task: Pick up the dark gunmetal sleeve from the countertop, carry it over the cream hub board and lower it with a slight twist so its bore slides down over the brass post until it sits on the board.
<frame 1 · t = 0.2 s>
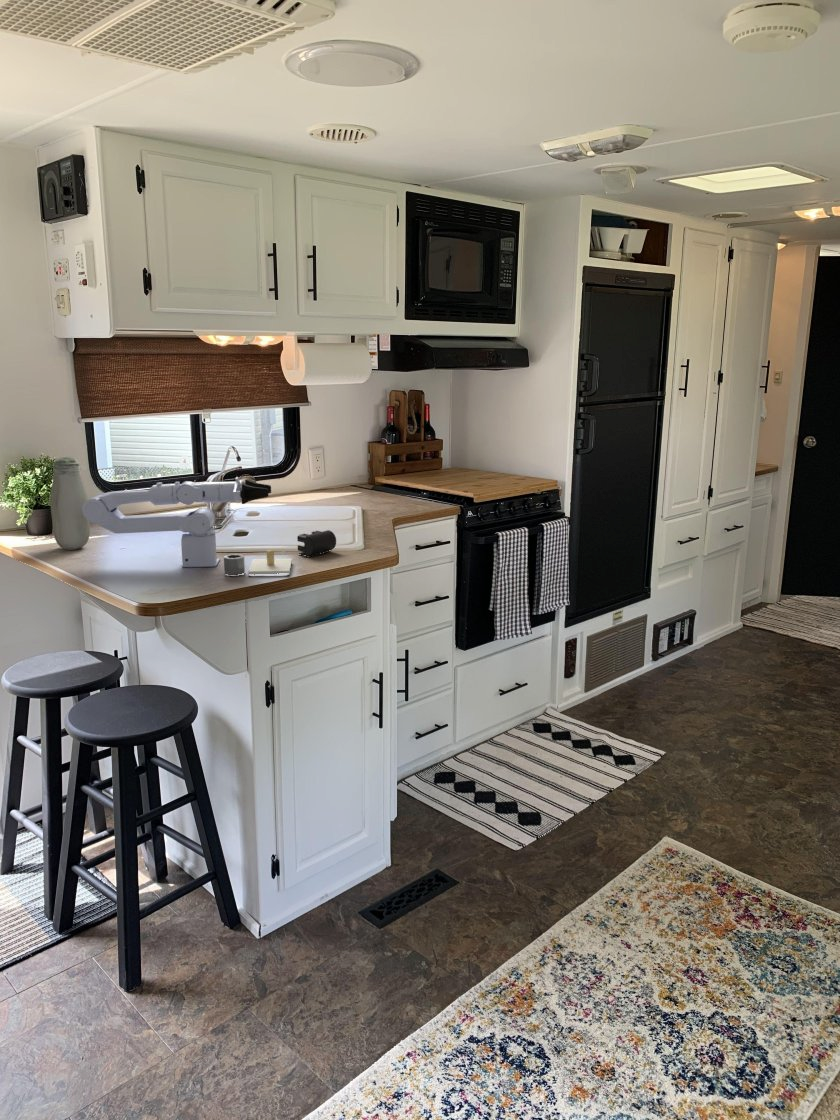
hand: (269, 490, 239), 21 cm above the worktop, tool horizontal, fingers open, 7 cm apart
sleeve: (234, 574, 233), on the worktop
black cylinder: (316, 555, 256), on the worktop
hub board: (270, 569, 237), on the worktop
grey bottle: (73, 549, 259), on the worktop
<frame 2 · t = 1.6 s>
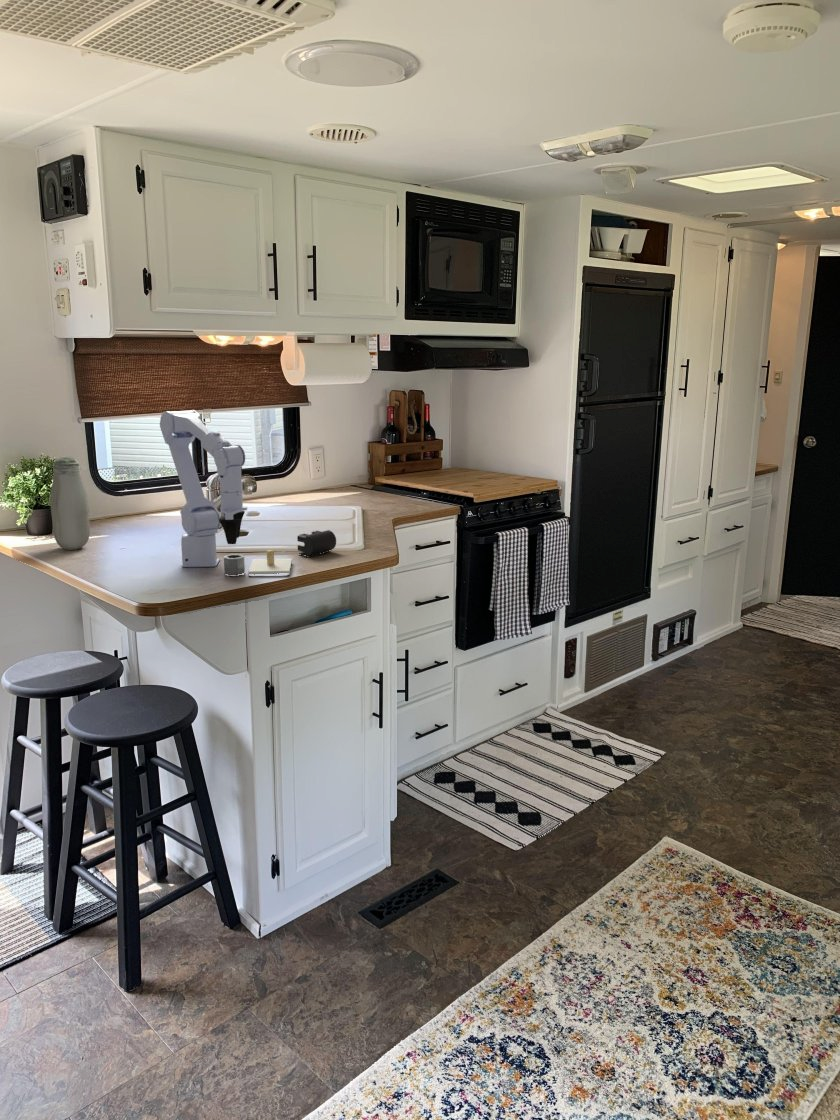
hand: (233, 540, 230), 9 cm above the worktop, tool pointing down, fingers open, 7 cm apart
nothing on the worktop moved.
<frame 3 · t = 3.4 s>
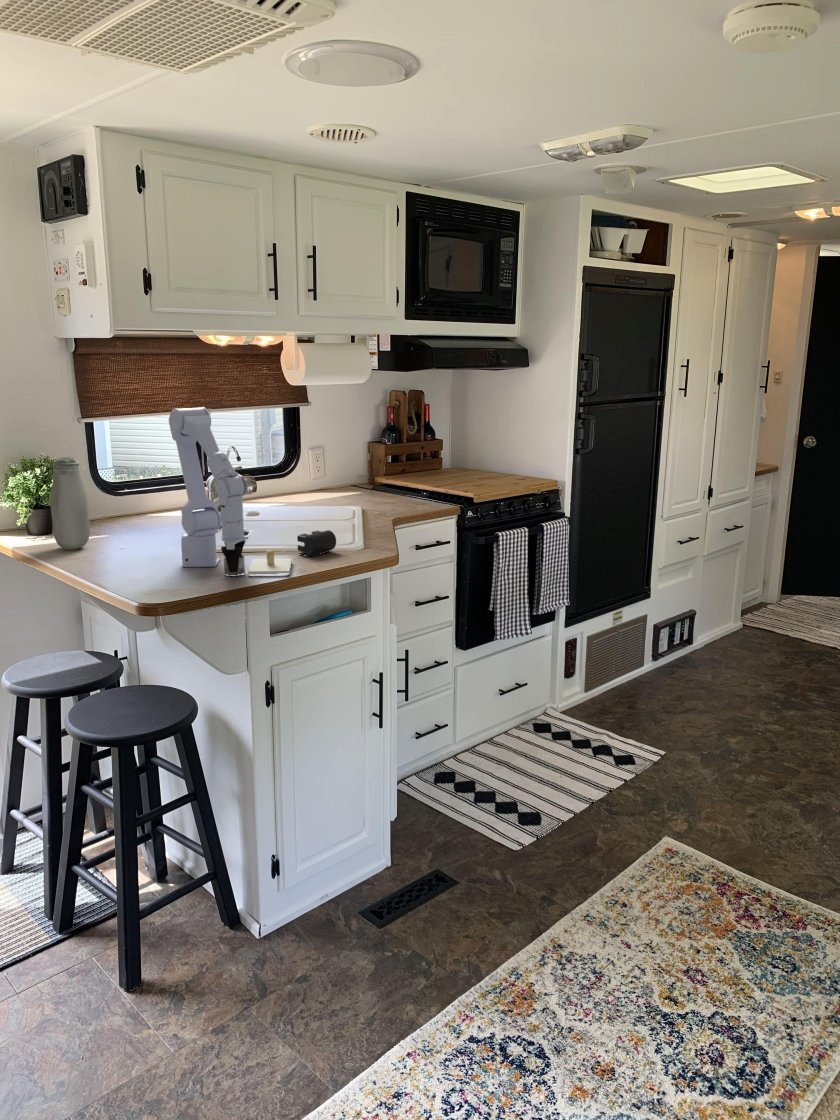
hand: (234, 569, 232), 1 cm above the worktop, tool pointing down, fingers closed on sleeve, 5 cm apart
sleeve: (234, 574, 233), on the worktop, touching gripper
everything else where it was.
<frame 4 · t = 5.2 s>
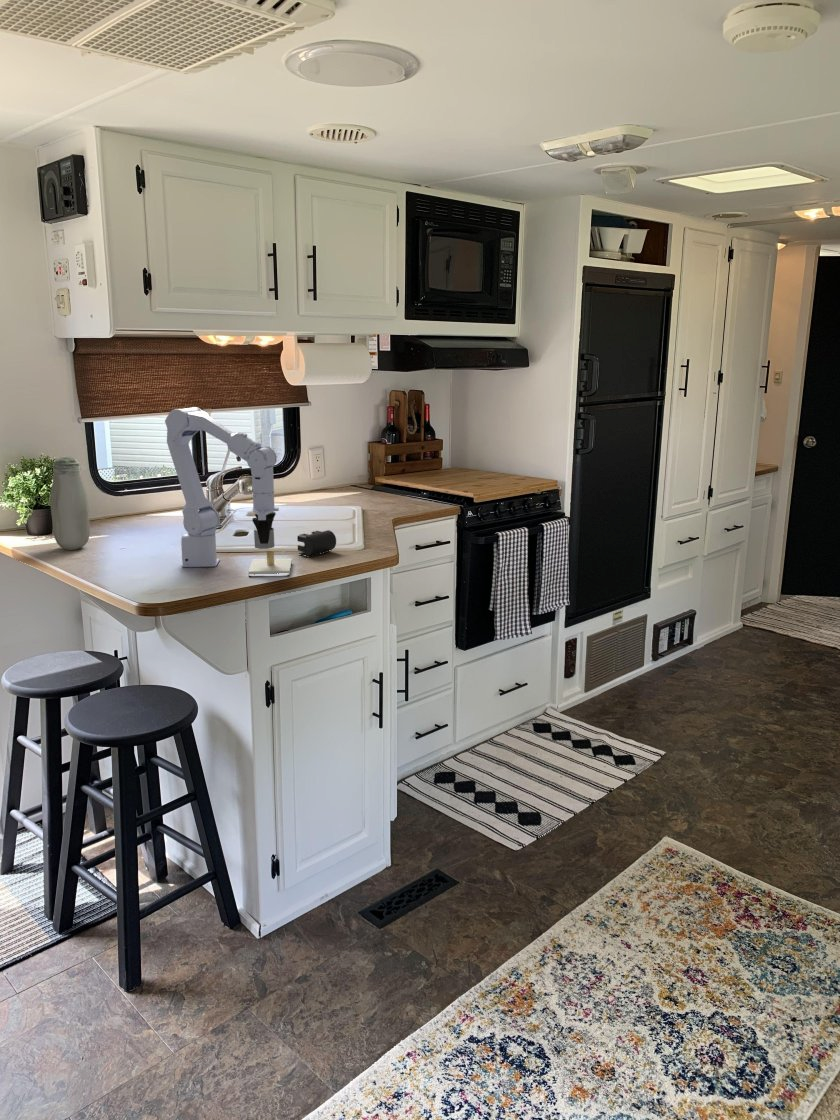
hand: (265, 540, 235), 8 cm above the worktop, tool pointing down, fingers closed on sleeve, 5 cm apart
sleeve: (264, 546, 235), point 7 cm above the worktop, touching gripper
everything else where it was.
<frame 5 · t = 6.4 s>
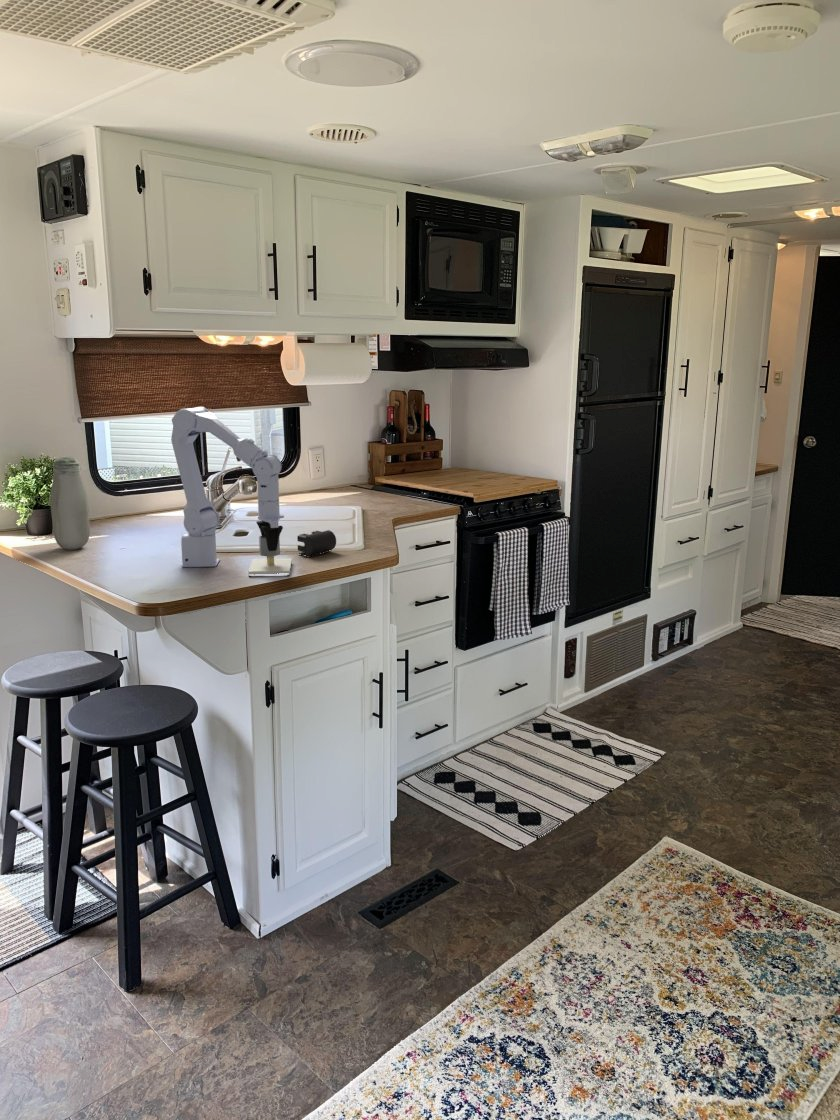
hand: (270, 548, 236), 6 cm above the worktop, tool pointing down, fingers closed on sleeve, 5 cm apart
sleeve: (269, 554, 236), point 5 cm above the worktop, touching gripper
everything else where it was.
when the fingers open (4 cm above the worktop, at t = 7.4 s): sleeve stays where it is, resting on hub board.
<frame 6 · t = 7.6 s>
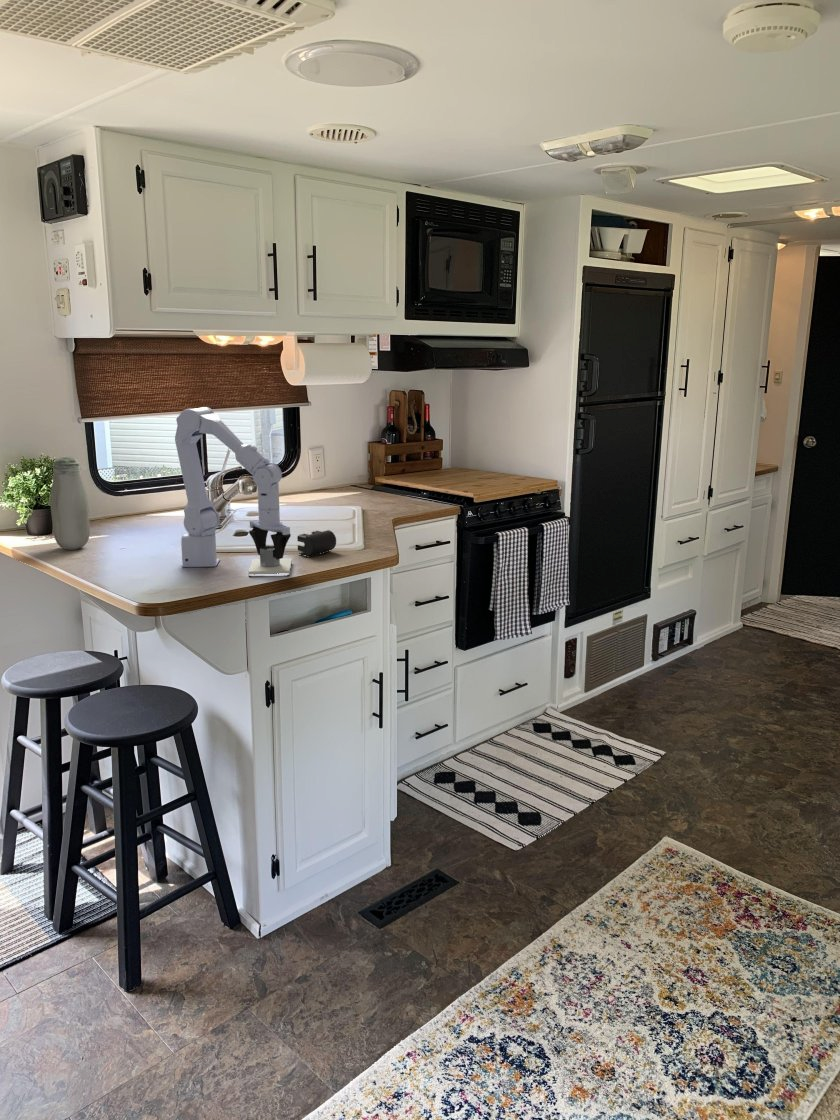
hand: (270, 556, 237), 4 cm above the worktop, tool pointing down, fingers open, 7 cm apart
sleeve: (270, 564, 237), point 1 cm above the worktop, touching hub board
everything else where it was.
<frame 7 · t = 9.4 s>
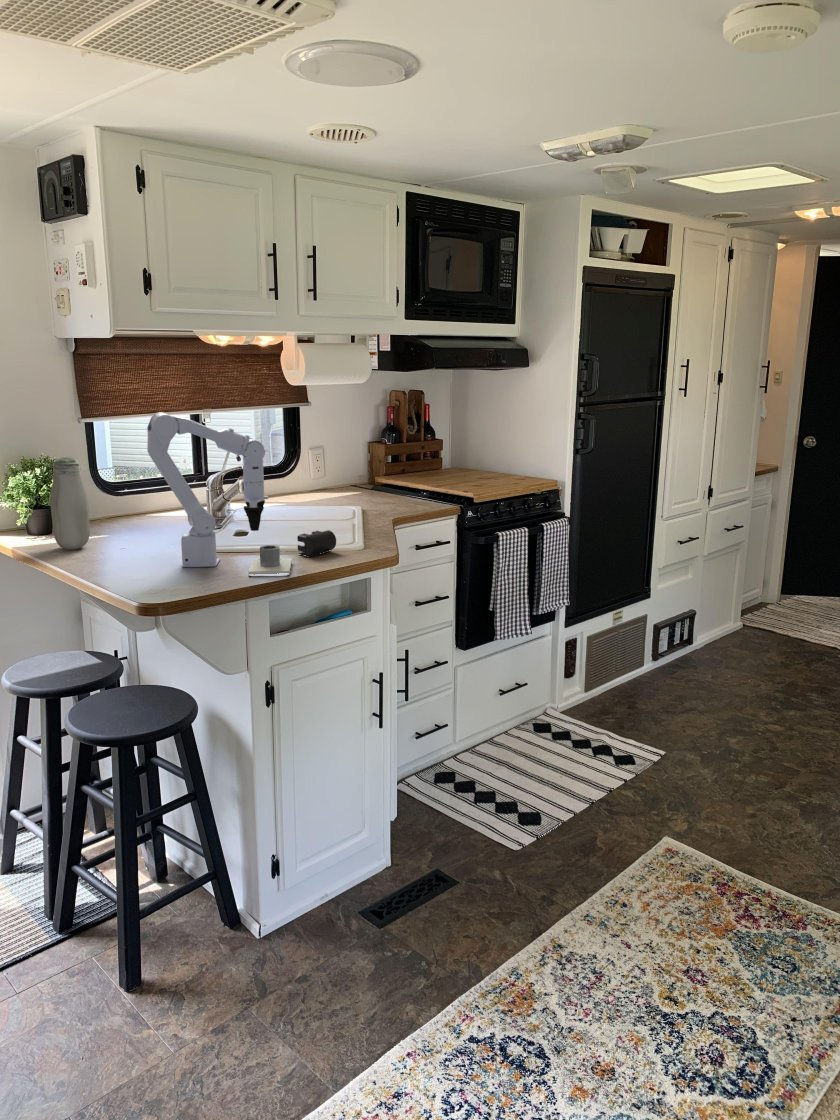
hand: (255, 527, 247), 9 cm above the worktop, tool pointing down, fingers open, 7 cm apart
nothing on the worktop moved.
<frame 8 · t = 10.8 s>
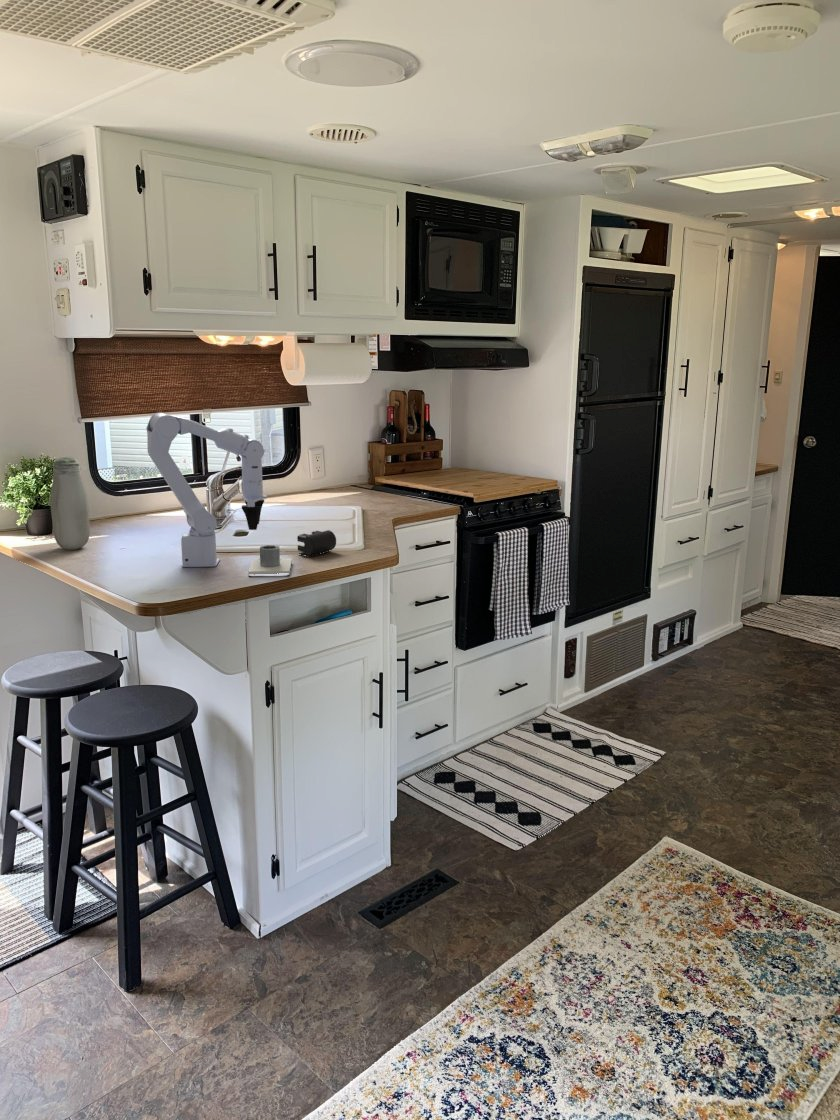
hand: (254, 526, 248), 9 cm above the worktop, tool pointing down, fingers open, 7 cm apart
nothing on the worktop moved.
at the end: sleeve 0.1 cm off-centre on the hub board, point 1.5 cm above the hub board's base; sleeve tilted 0°; the gripper is holding nothing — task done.
